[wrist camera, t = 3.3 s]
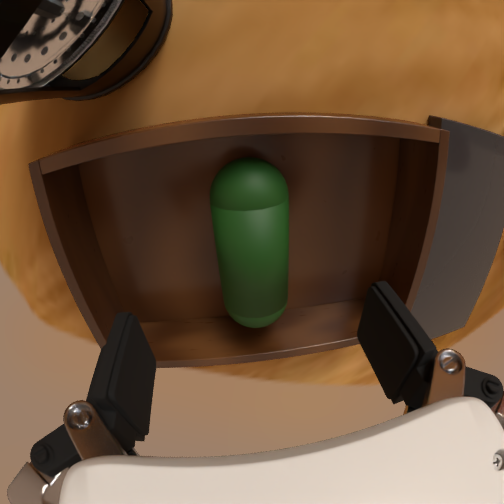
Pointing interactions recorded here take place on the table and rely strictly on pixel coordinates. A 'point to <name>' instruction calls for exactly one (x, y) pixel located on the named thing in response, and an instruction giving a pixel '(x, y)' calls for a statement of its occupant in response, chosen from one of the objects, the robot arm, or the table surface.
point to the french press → (69, 47)
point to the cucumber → (251, 239)
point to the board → (463, 228)
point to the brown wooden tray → (202, 235)
